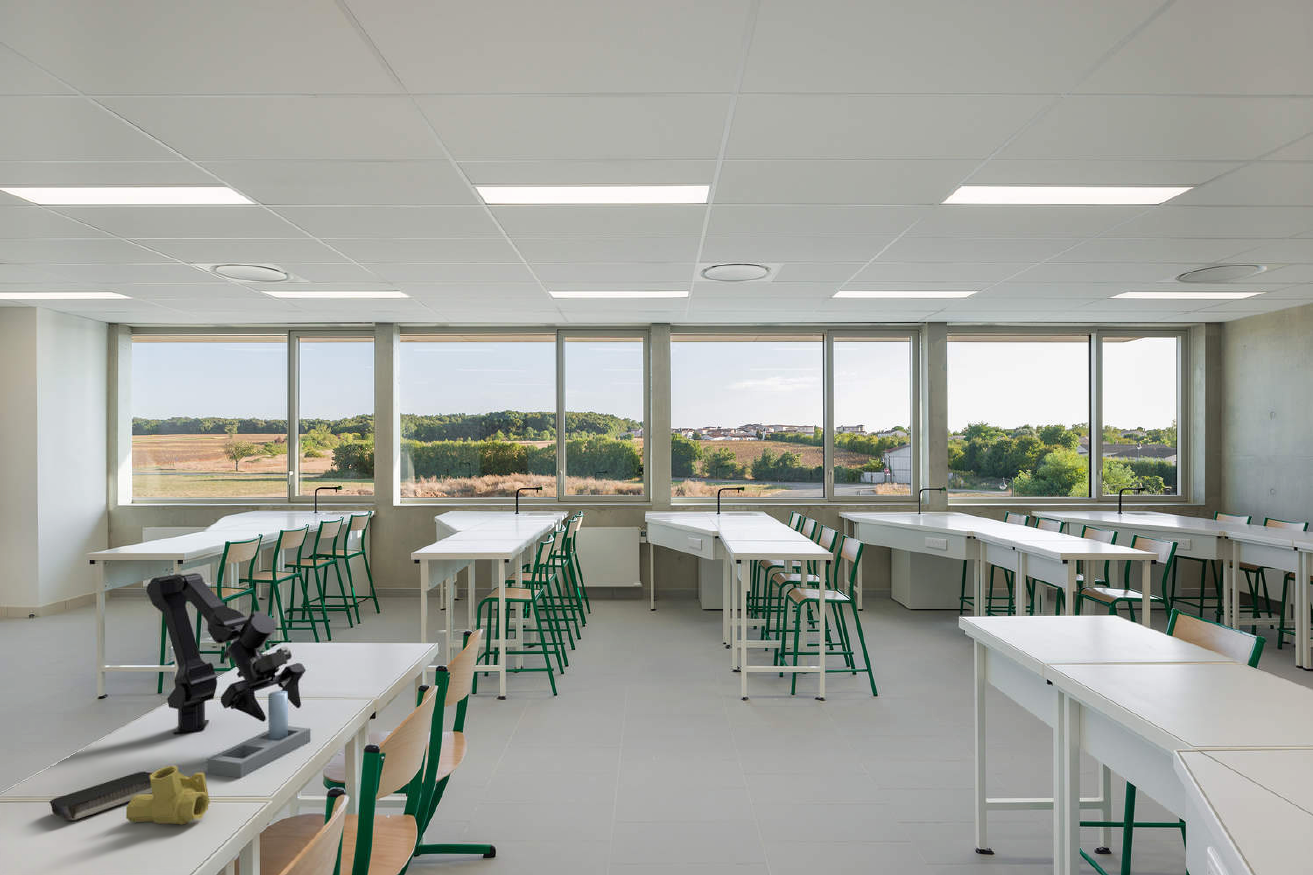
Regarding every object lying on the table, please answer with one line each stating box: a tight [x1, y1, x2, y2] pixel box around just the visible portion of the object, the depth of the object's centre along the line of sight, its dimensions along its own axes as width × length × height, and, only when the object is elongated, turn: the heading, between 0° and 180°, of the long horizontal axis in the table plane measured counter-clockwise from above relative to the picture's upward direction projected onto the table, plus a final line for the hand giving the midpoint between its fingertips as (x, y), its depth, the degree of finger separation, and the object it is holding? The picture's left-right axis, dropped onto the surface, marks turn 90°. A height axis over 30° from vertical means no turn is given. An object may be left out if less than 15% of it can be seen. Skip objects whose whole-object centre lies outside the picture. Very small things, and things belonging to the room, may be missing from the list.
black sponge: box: [49, 771, 153, 821], centre depth 146 cm, size 16×8×4 cm, turn 145°
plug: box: [267, 690, 289, 741], centre depth 172 cm, size 4×4×12 cm
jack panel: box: [206, 725, 311, 779], centre depth 167 cm, size 20×9×3 cm, turn 163°
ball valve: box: [125, 765, 211, 825], centre depth 140 cm, size 13×10×10 cm
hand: (282, 713), depth 172 cm, fingers open, 9 cm apart
